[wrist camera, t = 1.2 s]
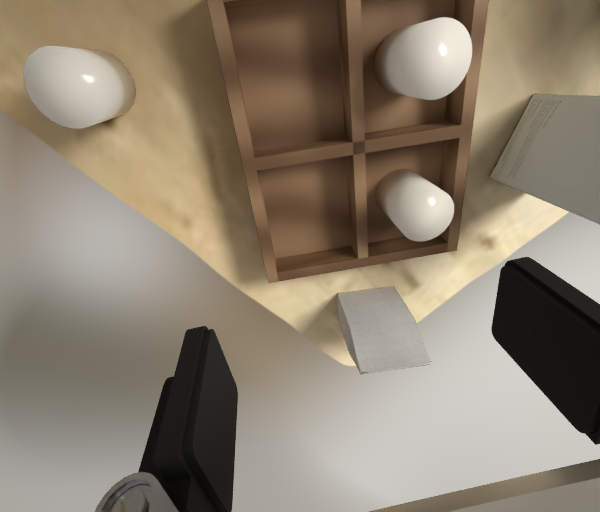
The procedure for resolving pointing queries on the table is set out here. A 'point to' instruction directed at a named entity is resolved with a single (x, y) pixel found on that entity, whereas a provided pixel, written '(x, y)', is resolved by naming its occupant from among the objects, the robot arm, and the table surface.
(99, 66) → the egg
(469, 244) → the table surface
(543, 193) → the skincare box
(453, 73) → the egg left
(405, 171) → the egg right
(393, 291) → the milk carton
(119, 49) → the table surface
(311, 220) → the rack
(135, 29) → the table surface
